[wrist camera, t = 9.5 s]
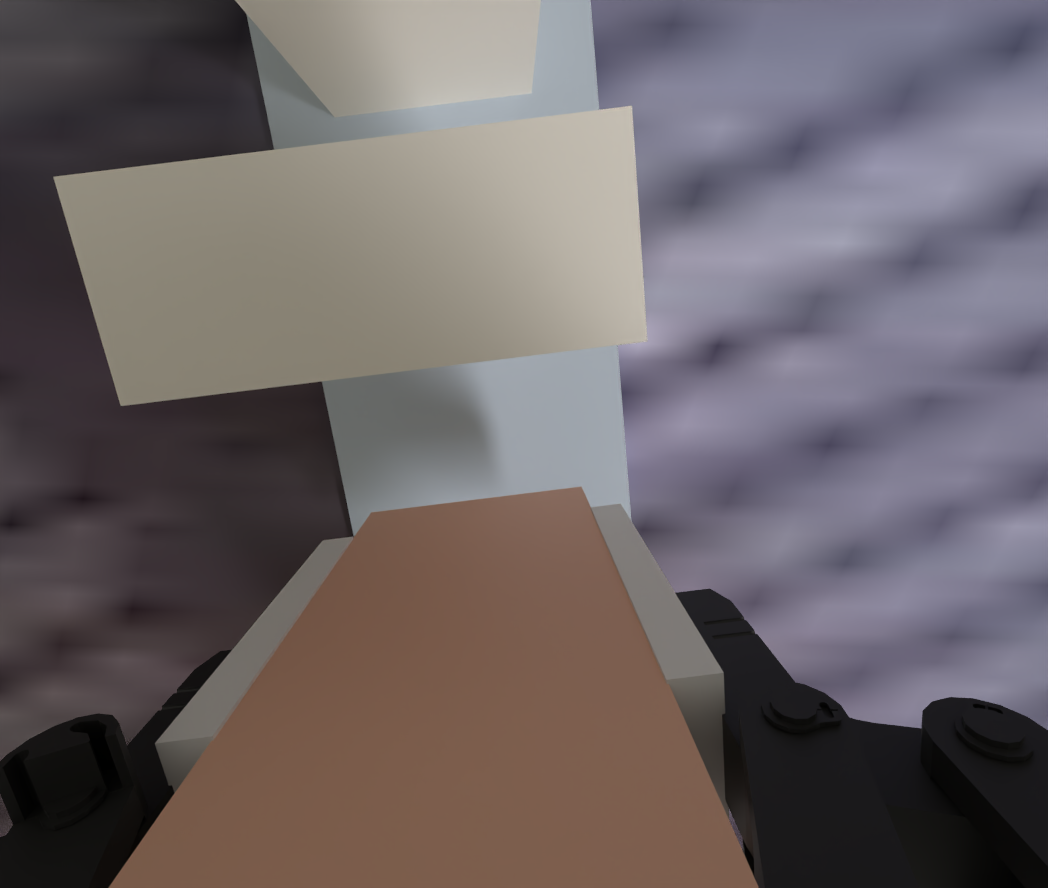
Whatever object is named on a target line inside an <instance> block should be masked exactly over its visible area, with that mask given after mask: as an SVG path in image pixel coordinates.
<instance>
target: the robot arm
mask: <svg viewBox="0 0 1048 888" xmlns="http://www.w3.org/2000/svg"><path fill="white" fill-rule="evenodd" d="M591 511H592V514H593V516H594V518H595V520H596V523H597V525H598V527H599V530H600V532H601V534H602V536H603V539H604V541H605V543H606V546H607V548H608V550H609V553H610V555H611V557H612V559H613V562H614V564H615V566H616V569H617V571H618V573H619V576H620V578H621V580H622V582H623V585H624V587H625V589H626V592H627V594H628V596H629V598H630V601H631V603H632V605H633V608H634V610H635V612H636V615H637V617H638V619H639V621H640V624H641V626H642V628H643V631H644V633H645V635H646V638H647V640H648V642H649V644H650V647H651V649H652V651H653V654H654V656H655V658H656V660H657V663H658V665H659V667H660V670H661V672H662V674H663V677H664V679H665V681H666V683H667V684H669V685H670V688H671V690H672V692H673V695H674V697H675V699H676V701H677V704H678V706H679V708H680V710H681V713H682V715H683V717H684V719H685V722H686V724H687V726H688V728H689V731H690V733H691V735H692V738H693V740H694V742H695V744H696V747H697V749H698V751H699V753H700V756H701V758H702V760H703V762H704V765H705V767H706V769H707V771H708V774H709V776H710V778H711V781H712V783H713V785H714V787H715V790H716V792H717V794H718V796H719V799H720V801H721V803H722V805H723V808H724V810H725V812H726V814H727V817H728V819H729V809H730V811H731V813H732V816H733V818H734V820H735V822H736V824H737V827H738V829H739V831H740V833H741V836H742V838H743V853H744V855H745V857H746V860H747V862H748V864H749V867H750V869H751V871H752V873H753V876H754V878H755V880H756V882H757V885H758V887H759V888H1048V730H1046V729H1045V728H1043V727H1042V726H1040V725H1039V724H1037V723H1036V722H1034V721H1033V720H1031V719H1030V718H1028V717H1026V716H1024V715H1022V714H1019V713H1017V712H1015V711H1012V710H1010V709H1008V708H1005V707H1003V706H1001V705H997V704H993V703H989V702H985V701H981V700H977V699H973V698H954V697H949V698H945V699H941V700H937V701H933V702H931V703H930V704H929V705H928V706H927V707H926V708H925V709H924V710H923V714H922V729H921V728H912V727H904V726H895V725H887V724H878V723H871V722H866V721H860V720H855V719H852V718H849V717H848V715H847V714H846V712H845V711H844V709H843V708H842V706H841V705H840V704H838V703H837V702H836V701H834V700H833V699H832V698H830V697H829V696H828V695H826V694H825V693H823V692H821V691H819V690H816V689H814V688H812V687H809V686H807V685H805V684H800V683H795V681H794V680H793V679H792V678H791V676H790V675H789V674H788V673H787V671H786V670H785V669H784V668H783V666H782V665H781V664H780V662H779V661H778V660H777V659H776V657H775V656H774V655H773V654H772V652H771V651H770V650H769V649H768V647H767V646H766V645H765V643H764V642H763V641H762V640H761V638H760V637H759V636H758V635H757V634H755V632H754V630H753V628H752V627H751V626H750V624H749V623H748V622H747V621H746V620H744V617H743V616H742V614H741V613H740V612H739V611H738V609H737V608H736V607H735V606H734V604H733V603H732V602H731V601H730V600H728V599H727V598H725V597H723V596H721V595H720V594H718V593H716V592H715V591H713V590H711V589H703V590H695V591H687V592H679V593H675V592H674V590H673V589H672V587H671V585H670V584H669V582H668V581H667V579H666V577H665V576H664V574H663V572H662V571H661V569H660V567H659V566H658V564H657V562H656V561H655V559H654V558H653V556H652V554H651V553H650V551H649V549H648V548H647V546H646V544H645V543H644V541H643V540H642V538H641V536H640V535H639V533H638V531H637V530H636V528H635V526H634V525H633V523H632V522H631V520H630V518H629V517H628V515H627V513H626V512H625V510H624V508H623V507H622V505H621V504H613V505H605V506H597V507H591ZM352 540H353V537H346V538H338V539H330V540H323V541H322V542H321V543H320V544H319V546H318V547H317V548H316V549H315V550H314V552H313V553H312V554H311V555H310V557H309V558H308V559H307V560H306V561H305V563H304V564H303V565H302V566H301V567H300V569H299V570H298V571H297V572H296V573H295V575H294V576H293V577H292V578H291V579H290V581H289V582H288V583H287V584H286V586H285V587H284V588H283V589H282V590H281V592H280V593H279V594H278V595H277V596H276V598H275V599H274V600H273V601H272V602H271V604H270V605H269V606H268V607H267V608H266V610H265V611H264V612H263V613H262V615H261V616H260V617H259V618H258V619H257V621H256V622H255V623H254V624H253V625H252V627H251V628H250V629H249V630H248V631H247V633H246V634H245V635H244V636H243V637H242V639H241V640H240V641H239V642H238V644H237V645H236V646H235V647H234V648H233V650H227V651H220V652H219V653H217V654H216V655H215V656H213V657H212V658H210V659H209V660H208V661H206V662H205V663H203V664H202V665H201V666H199V667H198V668H196V669H195V670H194V671H193V672H192V673H191V674H190V676H189V677H188V678H187V679H186V680H185V681H184V682H183V683H182V685H181V686H180V687H179V688H178V689H177V693H174V694H173V695H172V696H171V697H170V698H169V699H168V700H167V701H166V703H165V704H164V705H163V706H162V710H161V711H158V712H157V713H156V714H155V715H154V716H153V717H152V718H151V720H150V721H149V722H148V723H147V724H146V725H145V726H144V727H143V729H142V730H141V731H140V732H139V733H138V734H137V735H136V736H135V738H134V739H133V740H132V741H131V742H130V743H129V744H128V745H126V742H125V739H124V736H123V734H122V731H121V728H120V725H119V722H118V721H117V720H116V719H115V718H114V717H113V715H106V714H94V715H88V716H83V717H78V718H75V719H73V720H70V721H67V722H64V723H62V724H59V725H56V726H54V727H52V728H50V729H48V730H46V731H44V732H42V733H40V734H38V735H37V736H35V737H33V738H31V739H29V740H28V741H26V742H25V743H23V744H22V745H20V746H19V747H18V748H16V749H15V750H13V751H12V752H10V753H9V754H7V755H6V756H5V757H4V758H3V759H2V760H1V761H0V794H1V797H2V799H3V801H4V804H5V806H6V808H7V811H8V813H9V815H10V818H11V820H12V822H13V826H12V828H11V829H10V831H9V832H8V834H7V835H5V836H3V837H0V888H109V886H110V885H111V883H112V882H113V881H114V879H115V878H116V876H117V875H118V873H119V872H120V871H121V869H122V868H123V866H124V865H125V863H126V862H127V861H128V859H129V858H130V856H131V855H132V853H133V852H134V851H135V849H136V848H137V846H138V845H139V843H140V842H141V841H142V839H143V838H144V836H145V835H146V833H147V832H148V831H149V829H150V828H151V826H152V825H153V823H154V822H155V821H156V819H157V818H158V816H159V815H160V813H161V812H162V811H163V809H164V808H165V806H166V805H167V803H168V802H169V801H170V799H171V798H172V796H173V795H174V793H175V792H176V791H177V789H178V788H179V786H180V785H181V783H182V782H183V781H184V779H185V778H186V776H187V775H188V773H189V772H190V771H191V769H192V768H193V766H194V765H195V763H196V762H197V761H198V759H199V758H200V756H201V755H202V753H203V752H204V751H205V749H206V748H207V746H208V745H209V743H210V742H211V741H213V740H214V739H215V738H216V736H217V735H218V733H219V732H220V730H221V729H222V727H223V726H224V725H225V723H226V722H227V720H228V719H229V717H230V716H231V715H232V713H233V712H234V710H235V709H236V707H237V706H238V704H239V703H240V702H241V700H242V699H243V697H244V696H245V694H246V693H247V691H248V690H249V689H250V687H251V686H252V684H253V683H254V681H255V680H256V679H257V677H258V676H259V674H260V673H261V671H262V670H263V668H264V667H265V666H266V664H267V663H268V661H269V660H270V658H271V657H272V655H273V654H274V653H275V651H276V650H277V648H278V647H279V645H280V644H281V643H282V641H283V640H284V638H285V637H286V635H287V634H288V632H289V631H290V630H291V628H292V627H293V625H294V624H295V622H296V621H297V619H298V618H299V617H300V615H301V614H302V612H303V611H304V609H305V608H306V607H307V605H308V604H309V602H310V601H311V599H312V598H313V596H314V595H315V594H316V592H317V591H318V589H319V588H320V586H321V585H322V583H323V582H324V581H325V579H326V578H327V576H328V575H329V573H330V572H331V571H332V569H333V568H334V566H335V565H336V563H337V562H338V560H339V559H340V558H341V556H342V555H343V553H344V552H345V550H346V549H347V548H348V546H349V545H350V543H351V542H352Z"/></svg>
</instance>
